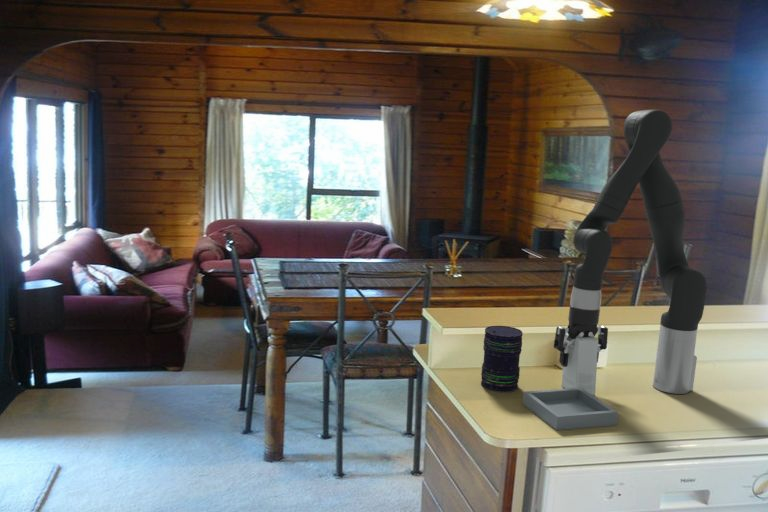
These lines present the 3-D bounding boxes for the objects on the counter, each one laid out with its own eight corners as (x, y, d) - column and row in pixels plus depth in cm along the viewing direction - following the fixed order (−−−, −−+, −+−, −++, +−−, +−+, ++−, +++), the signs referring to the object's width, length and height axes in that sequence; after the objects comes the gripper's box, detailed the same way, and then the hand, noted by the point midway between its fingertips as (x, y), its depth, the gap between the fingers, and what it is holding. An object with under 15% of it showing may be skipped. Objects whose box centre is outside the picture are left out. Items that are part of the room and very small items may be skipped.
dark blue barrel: (507, 378, 201) (511, 324, 198) (525, 391, 192) (530, 335, 189) (474, 380, 198) (478, 326, 195) (490, 393, 189) (495, 337, 186)
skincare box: (595, 396, 191) (601, 340, 188) (573, 397, 189) (579, 340, 187) (579, 384, 199) (585, 331, 196) (559, 385, 197) (564, 331, 195)
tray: (579, 399, 188) (580, 387, 187) (616, 424, 173) (618, 411, 172) (522, 403, 183) (523, 391, 182) (556, 430, 168) (557, 416, 167)
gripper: (600, 301, 196) (593, 359, 199) (553, 301, 191) (546, 361, 194) (617, 308, 189) (610, 369, 192) (568, 309, 184) (561, 371, 187)
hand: (578, 365), depth 193 cm, fingers open, 8 cm apart
